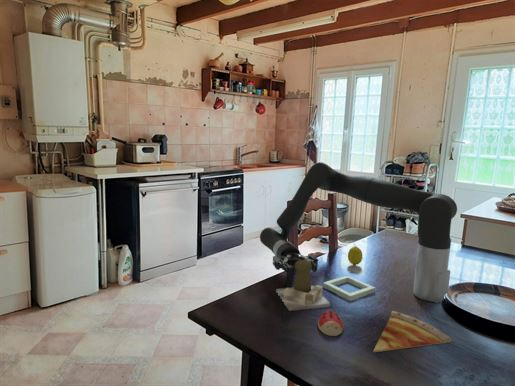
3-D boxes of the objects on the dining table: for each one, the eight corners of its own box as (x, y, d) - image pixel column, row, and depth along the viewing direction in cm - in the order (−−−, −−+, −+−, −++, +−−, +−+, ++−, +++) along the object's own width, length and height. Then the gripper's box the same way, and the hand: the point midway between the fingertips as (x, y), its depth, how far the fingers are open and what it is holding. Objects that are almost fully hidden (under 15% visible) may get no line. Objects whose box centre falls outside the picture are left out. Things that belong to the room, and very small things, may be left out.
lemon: (345, 266, 142) (347, 247, 140) (349, 262, 147) (350, 243, 145) (360, 269, 139) (361, 249, 138) (363, 264, 144) (364, 245, 143)
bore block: (374, 292, 119) (375, 287, 119) (350, 300, 113) (350, 296, 113) (347, 279, 129) (347, 275, 129) (322, 286, 123) (323, 282, 122)
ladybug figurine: (319, 337, 93) (320, 324, 92) (316, 317, 103) (316, 306, 102) (345, 338, 92) (346, 326, 92) (339, 319, 102) (340, 307, 102)
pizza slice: (343, 321, 102) (343, 314, 101) (411, 313, 107) (412, 307, 106) (372, 354, 87) (373, 346, 86) (451, 343, 92) (452, 336, 91)
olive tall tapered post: (312, 298, 111) (314, 264, 110) (293, 298, 111) (294, 264, 110) (310, 290, 117) (311, 258, 115) (291, 289, 117) (292, 257, 116)
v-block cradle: (276, 291, 118) (276, 280, 117) (313, 288, 121) (313, 277, 121) (289, 310, 106) (289, 298, 105) (329, 306, 109) (330, 294, 108)
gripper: (267, 243, 125) (281, 259, 110) (305, 241, 129) (324, 257, 113) (266, 264, 126) (280, 283, 111) (304, 261, 130) (323, 279, 114)
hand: (302, 269), depth 112 cm, fingers open, 8 cm apart
